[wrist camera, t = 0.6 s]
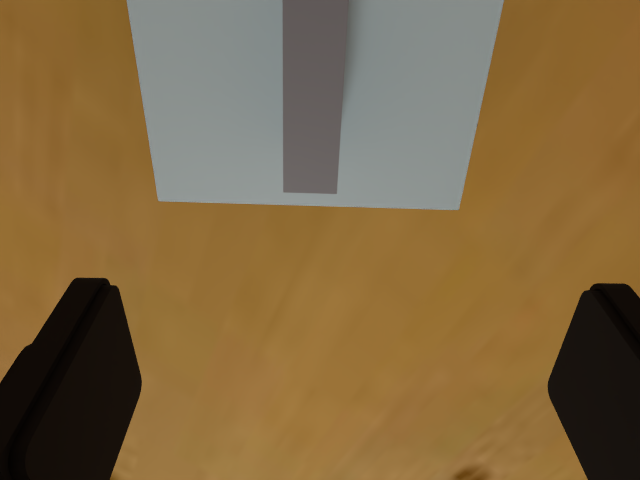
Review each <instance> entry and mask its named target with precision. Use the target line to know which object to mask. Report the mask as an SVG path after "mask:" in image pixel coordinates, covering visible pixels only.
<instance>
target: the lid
mask: <svg viewBox="0 0 640 480" xmlns="http://www.w3.org/2000/svg"><path fill="white" fill-rule="evenodd" d="M503 2H504V0H127V5H128V12H129V18H130V24H131V31H132V37H133V43H134V50H135V56H136V62H137V69H138V75H139V81H140V88H141V94H142V100H143V107H144V113H145V119H146V126H147V132H148V139H149V145H150V151H151V158H152V164H153V170H154V177H155V183H156V189H157V196H158V201H171V202H204V203H238V204H272V205H305V206H339V207H373V208H406V209H440V210H459V206H460V202H461V197H462V192H463V188H464V183H465V178H466V174H467V169H468V164H469V160H470V155H471V150H472V146H473V141H474V136H475V132H476V127H477V123H478V118H479V113H480V109H481V104H482V99H483V95H484V90H485V85H486V81H487V76H488V71H489V67H490V62H491V57H492V53H493V48H494V43H495V39H496V34H497V29H498V25H499V20H500V16H501V11H502V6H503Z"/></svg>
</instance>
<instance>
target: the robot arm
mask: <svg viewBox="0 0 640 480" xmlns="http://www.w3.org/2000/svg"><path fill="white" fill-rule="evenodd" d="M141 385H142V380H141V374H140V370H139V366H138V362H137V358H136V355H135V351H134V347H133V343H132V339H131V335H130V331H129V327H128V323H127V319H126V315H125V311H124V307H123V303H122V300H121V296H120V292H119V289H118V287H117V286H115V285H110V283H109V281H108V280H107V279H106V278H76V279H74V280H73V281H72V282H71V284H70V285H69V287H68V288H67V290H66V291H65V293H64V295H63V296H62V298H61V299H60V301H59V302H58V304H57V305H56V307H55V309H54V310H53V312H52V313H51V315H50V316H49V318H48V319H47V321H46V322H45V324H44V326H43V327H42V329H41V330H40V332H39V333H38V335H37V336H36V338H35V340H34V341H33V343H32V344H30V345H28V346H26V347H25V348H24V349H23V350H22V351H21V353H20V354H19V355H18V357H17V358H16V360H15V361H14V363H13V364H12V366H11V367H10V369H9V370H8V372H7V373H6V375H5V377H4V378H3V380H2V381H1V383H0V480H110V477H111V474H112V471H113V468H114V466H115V463H116V460H117V457H118V454H119V452H120V449H121V446H122V443H123V441H124V438H125V435H126V432H127V429H128V427H129V424H130V421H131V418H132V415H133V413H134V410H135V407H136V404H137V401H138V399H139V396H140V392H141ZM548 393H549V397H550V399H551V402H552V404H553V406H554V408H555V410H556V412H557V414H558V417H559V419H560V421H561V423H562V425H563V427H564V429H565V432H566V434H567V436H568V438H569V440H570V442H571V444H572V447H573V449H574V451H575V453H576V455H577V457H578V459H579V461H580V464H581V466H582V468H583V470H584V472H585V474H586V476H587V479H588V480H640V298H639V297H638V296H637V294H636V293H635V292H634V291H633V289H632V288H631V287H630V286H628V285H626V284H607V283H597V284H594V285H593V286H591V288H590V290H587V291H584V292H583V293H582V295H581V297H580V300H579V302H578V305H577V307H576V310H575V313H574V315H573V318H572V320H571V323H570V326H569V328H568V331H567V334H566V336H565V339H564V341H563V344H562V347H561V349H560V352H559V354H558V357H557V360H556V362H555V365H554V367H553V370H552V373H551V375H550V378H549V381H548Z"/></svg>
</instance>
